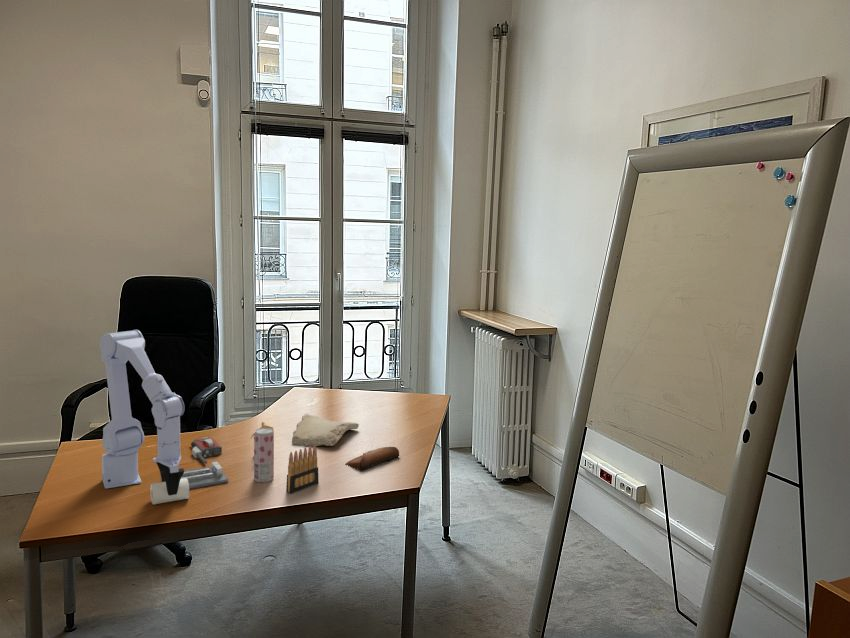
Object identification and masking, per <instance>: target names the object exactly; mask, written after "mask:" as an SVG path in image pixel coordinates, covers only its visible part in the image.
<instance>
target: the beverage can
mask: <svg viewBox="0 0 850 638" xmlns="http://www.w3.org/2000/svg"><path fill="white" fill-rule="evenodd" d="M273 430H274V429H273ZM273 430H272V429H270V428H261V427H260V429H259V428H257V429H255V430H254V433H255V434H254V433H253V434H254V436H253V479H254V480H255V482H257V483H268V482H271V481H273V479H274V477H275V476H274V473H275V472H274V470H275V467H274V466H275V465H274V464H275V458H274V457H275V455H274V454H275V453H274V452H275V451H274V449H275V447H274V446H275V432H274V433H273Z"/></svg>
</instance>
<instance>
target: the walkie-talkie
mask: <svg viewBox="0 0 850 638" xmlns="http://www.w3.org/2000/svg"><path fill="white" fill-rule="evenodd" d="M190 445H191V447H192V449H191V453H192V454H191V455H192V456H193V457H194V459H199V461H201V462H202V463H203V464H206V465H207V463H208V461H207V460H206V459H205V458H208V457H207V456H209V457H214V456H219V454H220V455H222V453H223V448H222V446H221V445H220V444H219V443H218V442H217V441H216V440H214V438H213V437H210V436H207V437H199V438H194V439H193V441H192V442H191V443H190ZM213 455H214V456H213Z"/></svg>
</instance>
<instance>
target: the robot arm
mask: <svg viewBox="0 0 850 638" xmlns="http://www.w3.org/2000/svg"><path fill="white" fill-rule="evenodd" d="M145 347H146V340H145V338H144V336H143V334H142V332H141V331H140V330H139V329H133V330H126V331H117V332H106V333H104V334H103V335H102V336H101V338H100V339H99V349H100V357H101V362H104V364H105V373H106V381H107V389H108V396H109V406H110V415H111V420H110V421H109V422H108V423H107V424H106V425H105V426H104V427H103V429H102V432H103V433H102V434H103V435H102V439H101V443H102V444H101V445H102V448H103V450H104V451H105V452H106V453H102V454H101V471H102V472H101V480H102V483H103V487H104V489H110V488H111V489H112V488H118V487H125V486H131V485H136V484H141V483H142V479H141V477H140V474H139V459H138V458H139V455H138V453H139V452H138V451H139V450H140V449H141V447H142V446H143V444H144V442H145V434H144V431H143V428H142V424H141V421H139V420H138V419H136V418H134V417H133V416H132V415H133V414H132V409H131V399H130V398H131V397H130V392H129V382H128V374H127V365H126V364H127V362H128V361H129V363H130V364H131V365H132V366H133V368H134V369H135V371H136V372H137V373H138V375H139V376H140V377H141V379H142V383H141V387H142V389H143V390H144V393H145V395H146V397H148V399H149V401H150V402H151V403H150V404H151V405H152V407H151V413H152V416H153V419H154V425H155V427H156V438H157V439H156V440H157V441H156V442H157V457H153V458H152V462H153V463H155V464H156V465H157V467H158V470H159V473H160V477H161V482H166V488H167V492H168V495H175V494H177V492H178V487H179V482H180V479H181V477H182V475H183V473H184V471H185V469H184V468H183V467H181V468H179V465H180V462H181V461H182V454H181V417H182V416H183V415H184V412H185V403H184V400H183V397H182V396H180V395H179V394H176V392H175V391H174V392H172V390H171V388H170V386H169V385H168V384H167V382H166V380H165V378H164V377H163V375H161V374H159V373H156V372H155V369H154V368H153V365H152V364H151V361H150V359H149V356H148V355H147V352H146V351H145Z"/></svg>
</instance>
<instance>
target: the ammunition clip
mask: <svg viewBox="0 0 850 638" xmlns="http://www.w3.org/2000/svg"><path fill="white" fill-rule="evenodd" d="M312 447H313V448H312ZM317 449H318V448H317V446H316V445H314V446H308V450H307V446H306V447H304V449H303V450H302V448H300V449H299V451H297V450H295V451H294V453H293V452H292V451H290V452H289V457H288V465H287V475H286V490H285V492H286V493H288V494H294V493H297V492H299V491H302V490H306V489H307V488H309V487H310V488H311V487H313V486H315V485H318V484H319V483H320V482H319V480H320V479H319V467H318V451H317Z"/></svg>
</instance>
